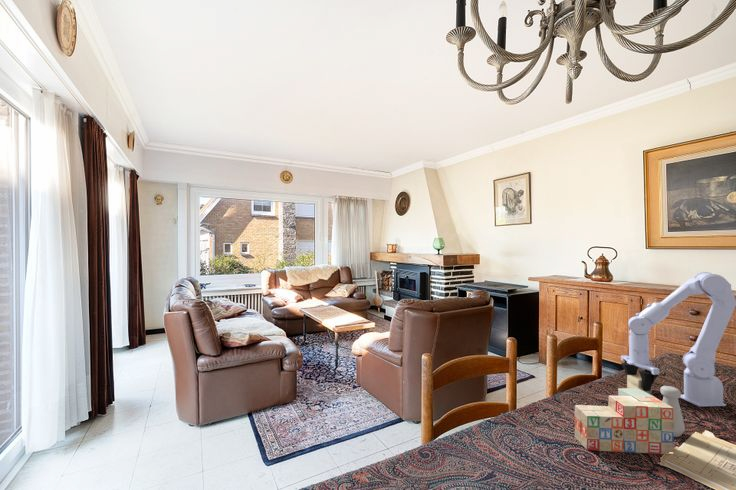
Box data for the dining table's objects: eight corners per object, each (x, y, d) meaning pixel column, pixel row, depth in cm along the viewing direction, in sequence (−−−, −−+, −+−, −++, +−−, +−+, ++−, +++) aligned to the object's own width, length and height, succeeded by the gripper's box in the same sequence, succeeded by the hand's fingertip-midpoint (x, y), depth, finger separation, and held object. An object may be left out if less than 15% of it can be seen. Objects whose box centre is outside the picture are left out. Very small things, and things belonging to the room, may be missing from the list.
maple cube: (640, 387, 125) (640, 374, 125) (651, 393, 120) (651, 380, 120) (627, 388, 125) (627, 374, 125) (638, 394, 120) (638, 380, 120)
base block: (637, 396, 118) (637, 387, 118) (655, 405, 111) (655, 396, 111) (618, 396, 118) (618, 388, 118) (634, 406, 111) (634, 397, 111)
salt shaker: (678, 429, 97) (677, 384, 97) (689, 440, 92) (689, 393, 92) (653, 426, 99) (653, 382, 99) (663, 436, 94) (663, 390, 94)
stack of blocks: (586, 451, 88) (586, 404, 88) (574, 437, 94) (573, 393, 94) (674, 455, 86) (674, 407, 86) (655, 440, 92) (655, 396, 92)
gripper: (613, 344, 130) (613, 379, 130) (645, 356, 115) (645, 395, 115) (630, 343, 130) (631, 378, 130) (665, 356, 116) (665, 395, 116)
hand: (639, 386), depth 123 cm, fingers open, 6 cm apart
